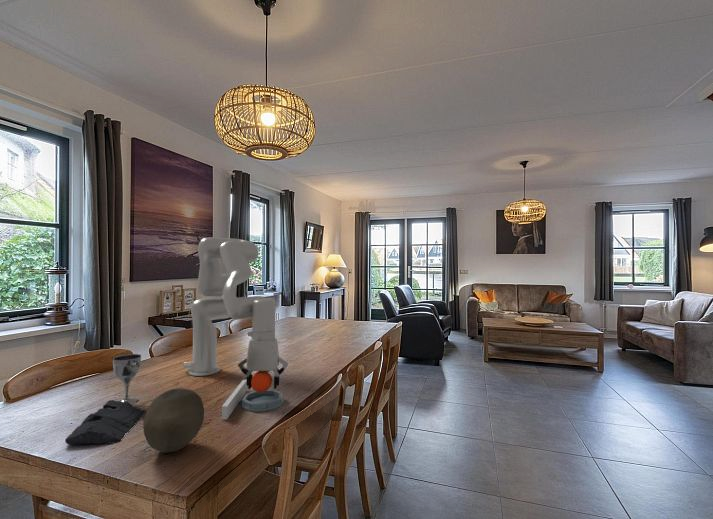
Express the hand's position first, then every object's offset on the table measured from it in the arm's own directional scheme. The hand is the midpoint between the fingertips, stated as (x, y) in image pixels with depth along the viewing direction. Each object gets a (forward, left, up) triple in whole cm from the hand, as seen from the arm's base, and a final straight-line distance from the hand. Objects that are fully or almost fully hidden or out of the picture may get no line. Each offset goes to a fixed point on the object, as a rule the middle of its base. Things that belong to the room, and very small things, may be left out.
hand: (263, 387), depth 118 cm
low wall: (-9, 0, -5) cm, 10 cm away
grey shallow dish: (0, 0, -5) cm, 5 cm away
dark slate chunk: (-41, -16, -6) cm, 44 cm away
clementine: (0, 0, -2) cm, 2 cm away
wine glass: (-46, +3, -6) cm, 46 cm away
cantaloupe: (-16, -29, -6) cm, 34 cm away
